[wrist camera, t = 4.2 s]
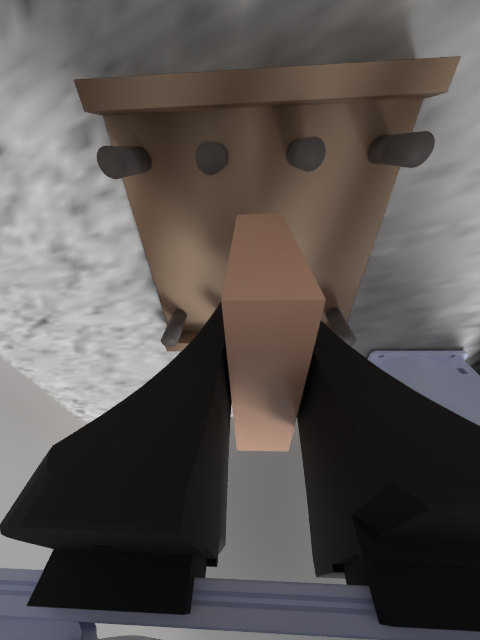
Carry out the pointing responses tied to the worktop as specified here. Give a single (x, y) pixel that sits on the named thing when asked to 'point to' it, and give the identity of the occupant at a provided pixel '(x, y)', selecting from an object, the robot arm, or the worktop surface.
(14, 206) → the worktop surface
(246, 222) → the pink square slab
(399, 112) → the rack
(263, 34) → the worktop surface
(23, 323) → the worktop surface
